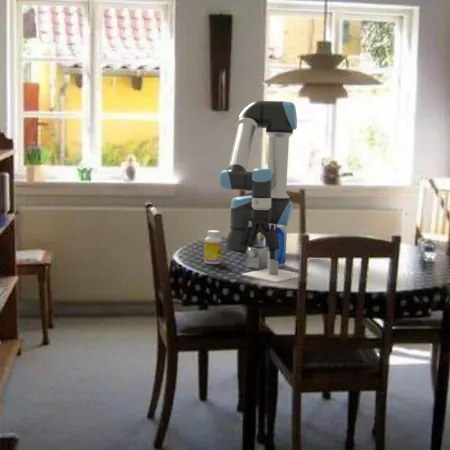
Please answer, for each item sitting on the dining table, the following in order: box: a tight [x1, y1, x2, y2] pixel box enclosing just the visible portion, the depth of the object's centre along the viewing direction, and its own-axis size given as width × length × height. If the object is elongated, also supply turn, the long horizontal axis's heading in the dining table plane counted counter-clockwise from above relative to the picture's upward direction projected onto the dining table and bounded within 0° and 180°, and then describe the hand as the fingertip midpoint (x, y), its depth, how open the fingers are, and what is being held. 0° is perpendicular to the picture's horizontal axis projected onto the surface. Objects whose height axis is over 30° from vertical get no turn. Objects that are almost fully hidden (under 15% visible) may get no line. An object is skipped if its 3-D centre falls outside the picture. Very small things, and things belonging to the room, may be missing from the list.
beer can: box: [264, 224, 288, 268], centre depth 314 cm, size 8×8×16 cm
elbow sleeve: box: [244, 244, 269, 270], centre depth 309 cm, size 9×6×8 cm
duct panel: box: [241, 260, 299, 284], centre depth 295 cm, size 18×16×6 cm
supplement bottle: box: [203, 229, 223, 265], centre depth 314 cm, size 7×7×13 cm
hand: (260, 265), depth 309 cm, fingers open, 9 cm apart
